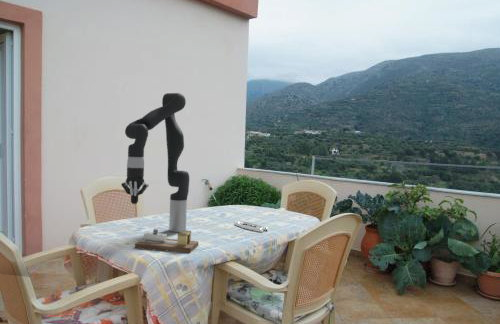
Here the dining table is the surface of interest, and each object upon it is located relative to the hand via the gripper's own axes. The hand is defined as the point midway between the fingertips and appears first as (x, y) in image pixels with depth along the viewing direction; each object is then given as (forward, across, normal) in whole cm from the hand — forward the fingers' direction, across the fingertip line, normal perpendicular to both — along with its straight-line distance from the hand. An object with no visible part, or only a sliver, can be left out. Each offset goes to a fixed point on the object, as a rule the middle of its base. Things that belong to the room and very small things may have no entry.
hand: (134, 203), depth 164 cm
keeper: (+17, -25, 0) cm, 30 cm away
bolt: (+17, -11, 0) cm, 20 cm away
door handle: (+20, -48, -52) cm, 74 cm away
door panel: (+19, -17, 0) cm, 25 cm away
